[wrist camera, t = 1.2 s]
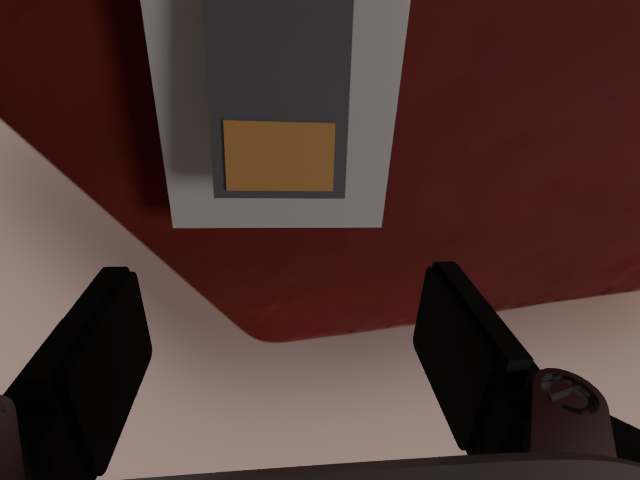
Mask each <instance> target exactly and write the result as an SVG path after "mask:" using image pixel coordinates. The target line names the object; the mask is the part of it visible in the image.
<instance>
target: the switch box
mask: <svg viewBox="0 0 640 480" xmlns="http://www.w3.org/2000/svg"><path fill="white" fill-rule="evenodd" d="M410 1H411V0H354V11H353V33H352V55H351V77H350V99H349V121H348V143H347V165H346V187H345V199H294V198H214V193H213V175H212V158H211V140H210V122H209V105H208V87H207V69H206V52H205V34H204V16H203V0H140V2H141V9H142V16H143V23H144V30H145V37H146V44H147V50H148V57H149V64H150V71H151V78H152V85H153V92H154V99H155V106H156V113H157V119H158V126H159V133H160V140H161V147H162V154H163V161H164V168H165V175H166V182H167V188H168V195H169V202H170V209H171V216H172V223H173V228H338V227H381V226H382V218H383V211H384V203H385V195H386V187H387V179H388V172H389V164H390V156H391V148H392V141H393V133H394V125H395V117H396V110H397V102H398V94H399V86H400V78H401V71H402V63H403V55H404V47H405V40H406V32H407V24H408V16H409V9H410Z"/></svg>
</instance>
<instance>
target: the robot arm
mask: <svg viewBox="0 0 640 480" xmlns="http://www.w3.org/2000/svg"><path fill="white" fill-rule="evenodd" d="M413 344H414V348H415V351H416V353H417V355H418V357H419V360H420V362H421V364H422V366H423V369H424V371H425V373H426V375H427V378H428V380H429V382H430V384H431V387H432V389H433V391H434V393H435V396H436V398H437V400H438V402H439V405H440V407H441V409H442V411H443V413H444V416H445V418H446V420H447V422H448V425H449V427H450V429H451V432H452V434H453V436H454V438H455V441H456V443H457V445H458V447H459V448H460V449H461V450H466V452H467V455H462V456H446V457H431V458H416V459H401V460H385V461H371V462H355V463H342V464H327V465H313V466H300V467H299V466H298V467H285V468H271V469H257V470H243V471H231V472H216V473H204V474H191V475H178V476H165V477H152V478H139V479H126V480H640V429H638V428H635V427H633V426H631V425H629V424H627V423H625V422H623V421H621V420H619V419H617V418H615V417H613V416H611V415H610V414H609V408H608V405H607V402H606V400H605V398H604V397H603V395H602V394H601V393H600V392H599V390H598V389H597V388H596V387H594V386H593V385H592V384H591V383H590V382H588V381H587V380H585V379H583V378H582V377H580V376H578V375H576V374H573V373H571V372H569V371H565V370H561V369H556V368H546V369H542V370H540V369H539V368H538V367H537V365H536V364H535V363H534V361H533V358H532V357H531V356H530V354H529V353H528V352H527V351H526V349H525V348H524V347H523V346H522V344H521V343H520V342H519V341H518V340H517V338H516V337H515V336H514V334H513V333H512V332H511V331H510V329H509V328H508V327H507V326H506V324H505V323H504V322H503V321H502V319H501V318H500V317H499V316H498V315H497V313H496V312H495V311H494V310H493V308H492V307H491V306H490V305H489V303H488V302H487V301H486V300H485V298H484V297H483V296H482V295H481V293H480V292H479V291H478V290H477V288H476V287H475V286H474V285H473V283H472V282H471V281H470V280H469V278H468V277H467V276H466V275H465V273H464V272H463V271H462V270H461V268H460V267H459V266H458V265H457V263H455V262H453V261H452V262H434V263H433V265H432V267H428V268H427V270H426V274H425V279H424V284H423V289H422V295H421V300H420V305H419V310H418V315H417V320H416V325H415V330H414V336H413ZM151 355H152V344H151V340H150V335H149V330H148V326H147V321H146V316H145V311H144V307H143V302H142V298H141V292H140V288H139V283H138V278H137V275H136V273H135V272H130V270H129V268H128V267H103V268H102V269H101V270H100V272H99V273H98V274H97V276H96V277H95V278H94V279H93V281H92V282H91V283H90V285H89V286H88V287H87V289H86V290H85V291H84V293H83V294H82V295H81V296H80V298H79V299H78V300H77V301H76V303H75V304H74V305H73V307H72V308H71V309H70V311H69V312H68V313H67V314H66V316H65V317H64V318H63V319H62V320H61V321H60V322H59V323H58V325H57V326H56V327H55V329H54V330H53V331H52V332H51V334H50V335H49V336H48V338H47V339H46V340H45V342H44V343H43V344H42V345H41V347H40V348H39V349H38V350H37V352H36V353H35V354H34V356H33V357H32V358H31V360H30V361H29V362H28V363H27V365H26V366H25V367H24V369H23V370H22V371H21V373H20V374H19V375H18V376H17V378H16V379H15V380H14V381H13V383H12V384H11V385H10V387H9V388H8V389H7V390H6V392H5V393H4V394H3V395H0V480H96V478H97V476H102V475H103V474H104V473H105V472H106V470H107V467H108V465H109V462H110V460H111V457H112V455H113V452H114V450H115V447H116V445H117V442H118V440H119V437H120V435H121V432H122V429H123V427H124V425H125V422H126V420H127V417H128V415H129V412H130V410H131V407H132V405H133V402H134V399H135V397H136V395H137V392H138V390H139V387H140V385H141V382H142V380H143V377H144V375H145V372H146V370H147V367H148V365H149V362H150V360H151Z"/></svg>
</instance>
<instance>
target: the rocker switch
mask: <svg viewBox="0 0 640 480" xmlns="http://www.w3.org/2000/svg"><path fill="white" fill-rule="evenodd" d="M353 11H354V0H203V16H204V34H205V52H206V69H207V87H208V105H209V122H210V140H211V158H212V175H213V193H214V198H294V199H345V187H346V165H347V143H348V121H349V99H350V77H351V55H352V33H353Z"/></svg>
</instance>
